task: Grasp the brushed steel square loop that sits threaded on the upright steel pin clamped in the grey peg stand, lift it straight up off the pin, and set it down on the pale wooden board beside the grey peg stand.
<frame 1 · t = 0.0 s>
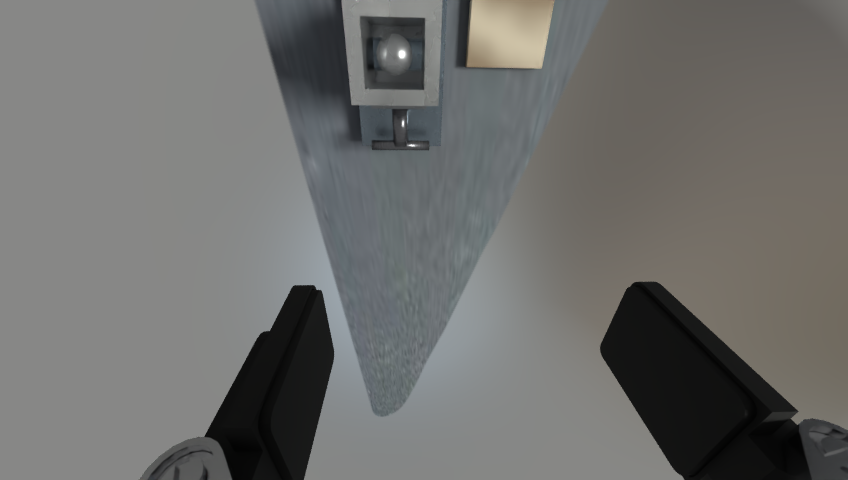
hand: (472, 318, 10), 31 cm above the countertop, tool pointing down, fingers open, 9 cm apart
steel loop: (397, 54, 26), point 8 cm above the countertop, touching grey peg stand
grey peg stand: (400, 54, 33), on the countertop
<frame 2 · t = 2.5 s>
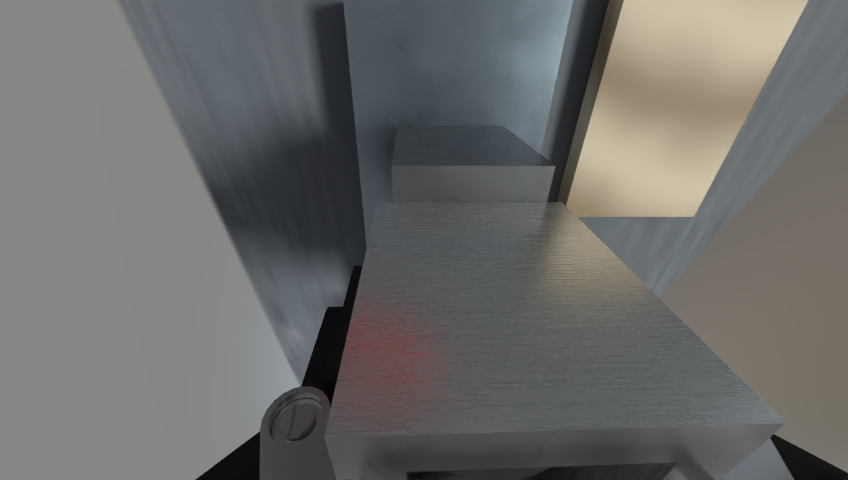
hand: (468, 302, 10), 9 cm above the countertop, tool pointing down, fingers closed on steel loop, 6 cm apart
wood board: (664, 83, 16), on the countertop
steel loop: (462, 276, 11), point 8 cm above the countertop, touching gripper, grey peg stand
grey peg stand: (443, 192, 18), on the countertop
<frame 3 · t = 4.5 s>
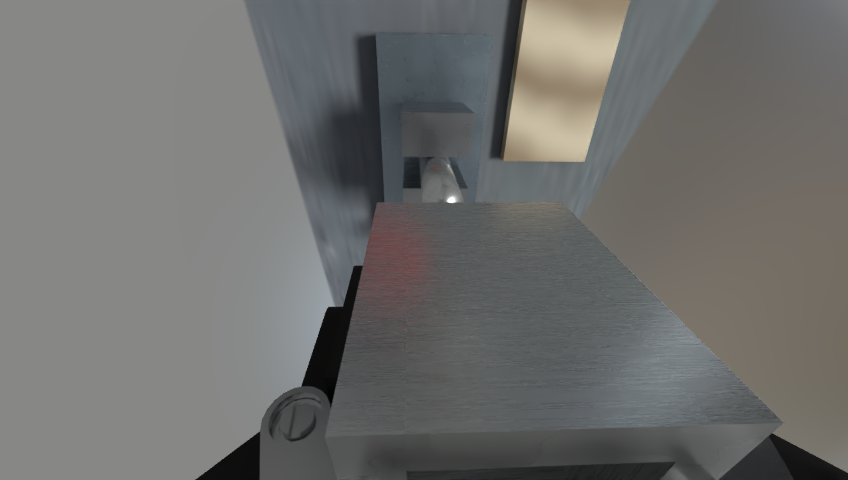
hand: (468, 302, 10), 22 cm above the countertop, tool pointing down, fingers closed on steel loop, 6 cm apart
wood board: (555, 79, 27), on the countertop
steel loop: (462, 276, 11), point 21 cm above the countertop, touching gripper
grey peg stand: (430, 146, 30), on the countertop
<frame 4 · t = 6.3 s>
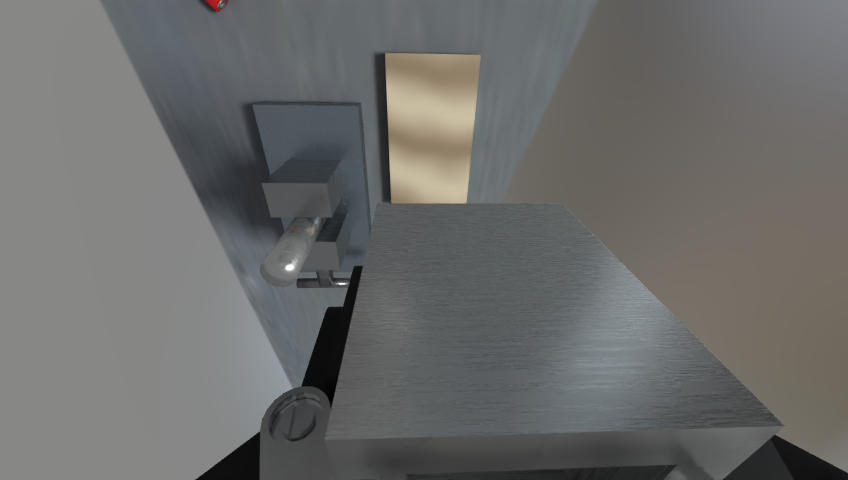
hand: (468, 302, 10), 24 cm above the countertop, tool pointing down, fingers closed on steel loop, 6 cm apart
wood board: (430, 136, 30), on the countertop
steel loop: (462, 277, 11), point 22 cm above the countertop, touching gripper
grey peg stand: (326, 193, 33), on the countertop
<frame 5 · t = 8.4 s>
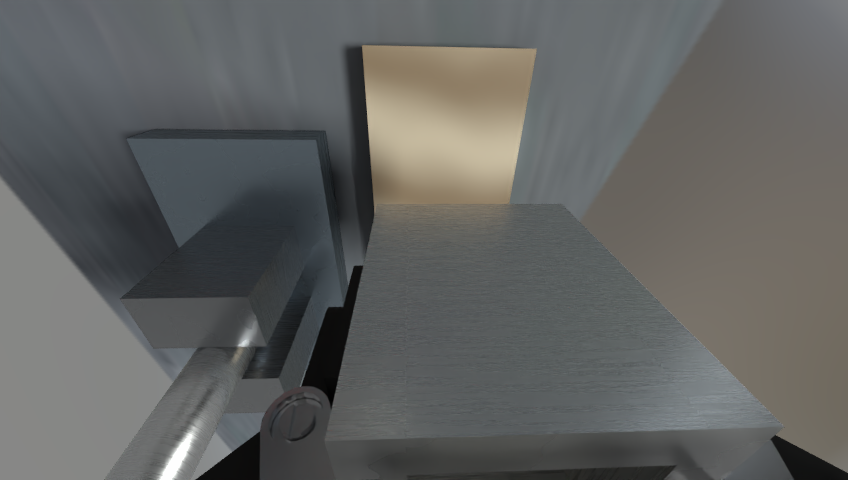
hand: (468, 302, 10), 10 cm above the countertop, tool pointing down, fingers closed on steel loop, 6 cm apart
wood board: (440, 182, 19), on the countertop
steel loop: (462, 277, 11), point 9 cm above the countertop, touching gripper
grey peg stand: (279, 264, 21), on the countertop
when the fingers open (4 cm above the countertop, at t = 10.2 s): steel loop drops 1 cm, resting on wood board.
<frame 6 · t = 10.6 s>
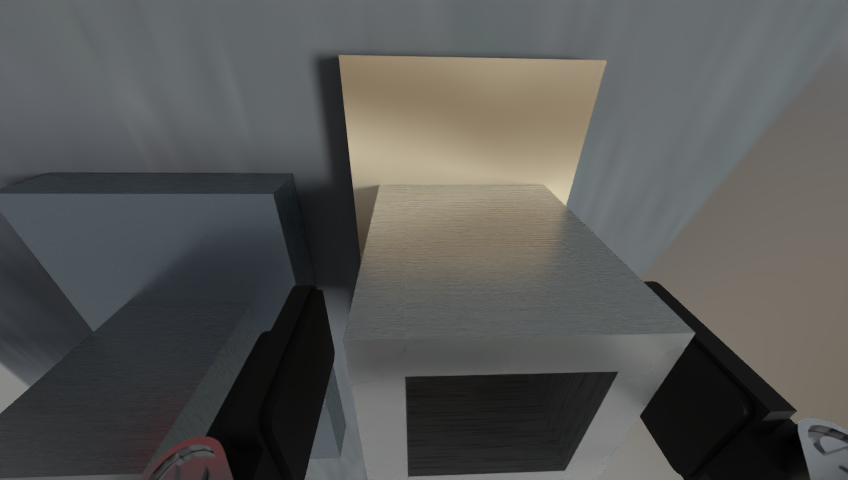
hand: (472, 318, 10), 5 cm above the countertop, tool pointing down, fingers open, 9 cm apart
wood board: (454, 239, 14), on the countertop
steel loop: (456, 253, 13), point 1 cm above the countertop, touching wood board
grey peg stand: (241, 336, 16), on the countertop
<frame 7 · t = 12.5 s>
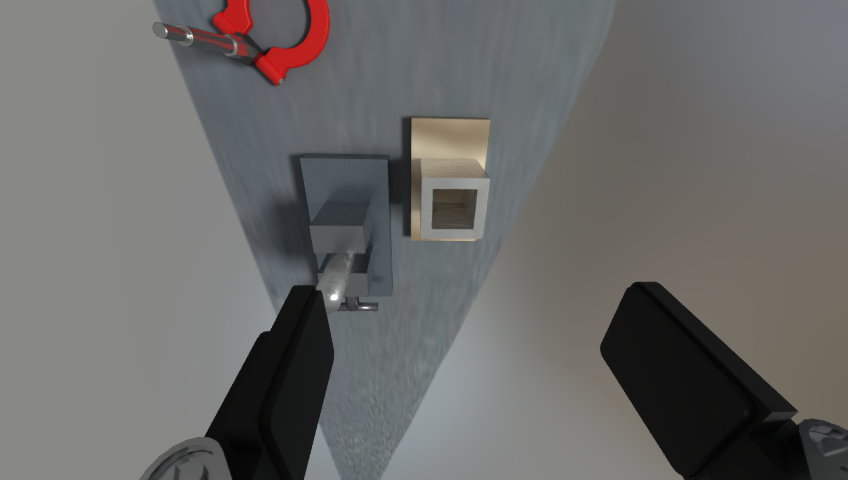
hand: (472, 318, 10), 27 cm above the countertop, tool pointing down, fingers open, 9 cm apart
tow hook: (280, 18, 28), on the countertop
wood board: (446, 182, 35), on the countertop
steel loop: (446, 185, 34), point 1 cm above the countertop, touching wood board
grey peg stand: (354, 228, 38), on the countertop
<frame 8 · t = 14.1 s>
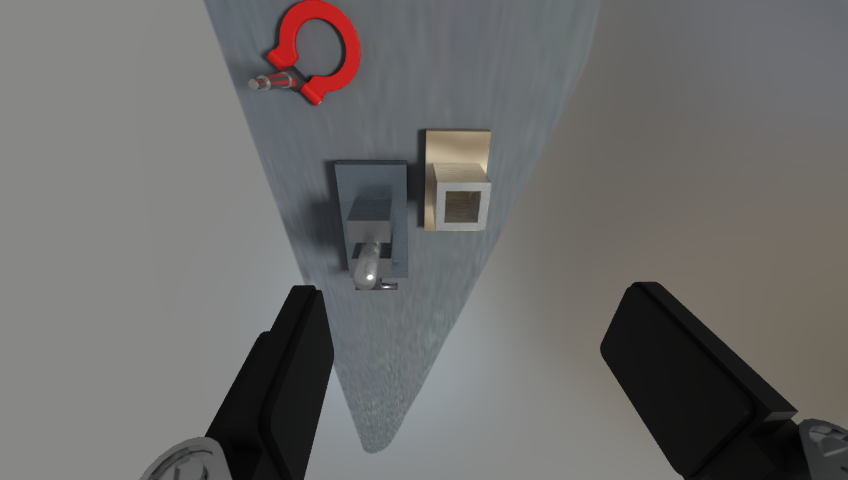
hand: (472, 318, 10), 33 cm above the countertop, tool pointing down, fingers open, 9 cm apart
tow hook: (319, 51, 34), on the countertop
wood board: (453, 182, 42), on the countertop
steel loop: (454, 185, 41), point 1 cm above the countertop, touching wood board
grey peg stand: (376, 220, 45), on the countertop
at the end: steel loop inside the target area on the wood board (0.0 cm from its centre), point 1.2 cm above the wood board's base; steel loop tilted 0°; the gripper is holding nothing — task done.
